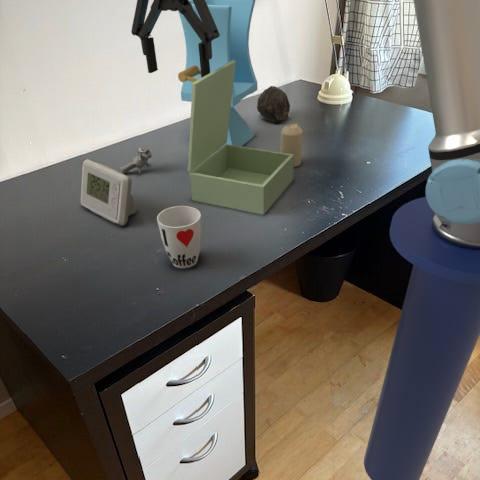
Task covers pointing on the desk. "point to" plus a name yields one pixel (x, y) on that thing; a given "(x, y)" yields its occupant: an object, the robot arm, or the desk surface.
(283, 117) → the rock
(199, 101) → the lid
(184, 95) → the planter
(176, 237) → the cup
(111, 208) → the digital clock
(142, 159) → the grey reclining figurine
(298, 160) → the candle
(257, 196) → the chest
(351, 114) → the desk surface
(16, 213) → the desk surface
